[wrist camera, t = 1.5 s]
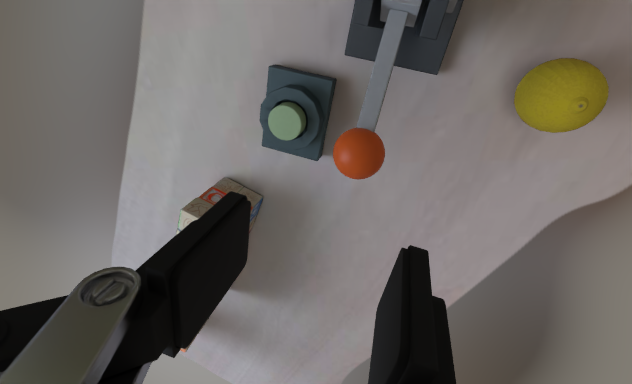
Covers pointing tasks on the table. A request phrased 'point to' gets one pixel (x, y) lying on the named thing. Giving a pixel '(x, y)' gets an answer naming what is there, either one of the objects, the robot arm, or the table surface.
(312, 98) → the dark piece
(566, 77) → the lemon
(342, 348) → the table surface
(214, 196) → the stack of blocks
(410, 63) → the switch bracket
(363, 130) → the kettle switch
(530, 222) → the table surface
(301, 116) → the green round button
